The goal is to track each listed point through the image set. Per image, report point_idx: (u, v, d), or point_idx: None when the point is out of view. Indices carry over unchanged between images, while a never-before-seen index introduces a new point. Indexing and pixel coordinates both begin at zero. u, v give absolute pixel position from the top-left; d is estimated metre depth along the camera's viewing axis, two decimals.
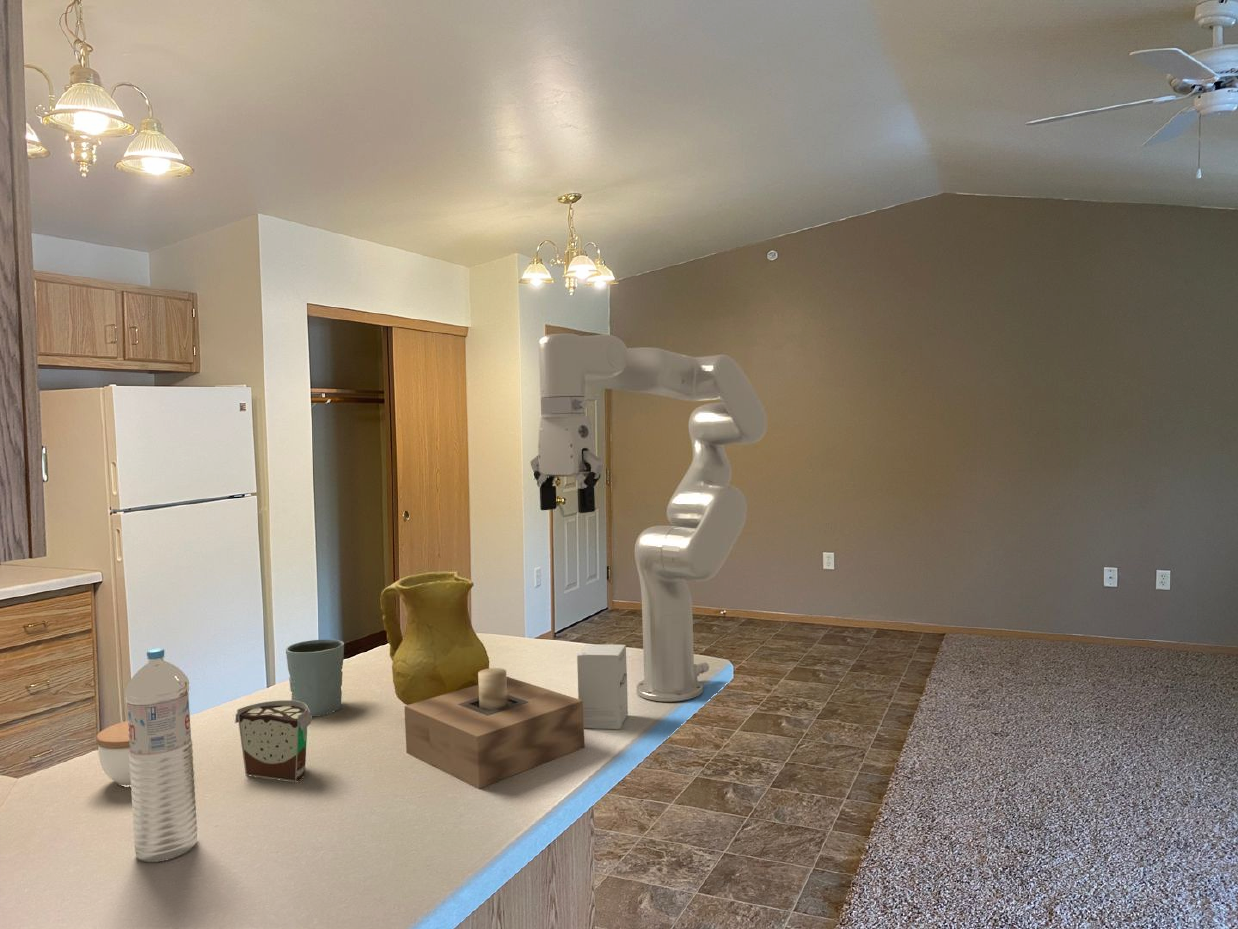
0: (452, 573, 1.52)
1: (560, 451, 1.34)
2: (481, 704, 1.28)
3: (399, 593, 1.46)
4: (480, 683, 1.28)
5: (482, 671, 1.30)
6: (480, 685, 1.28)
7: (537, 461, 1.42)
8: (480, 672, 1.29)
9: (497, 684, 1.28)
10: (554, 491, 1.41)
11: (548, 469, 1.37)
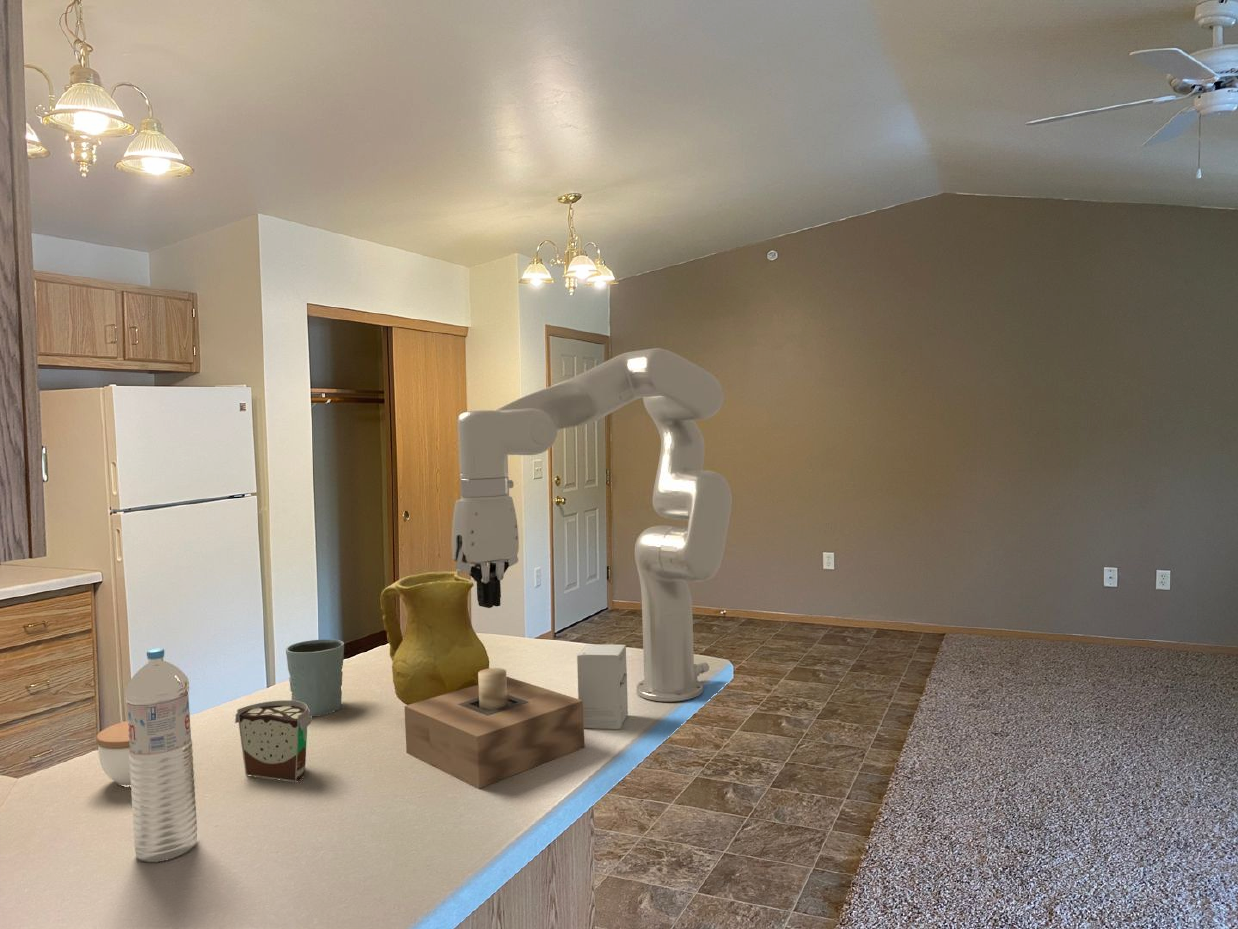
0: (452, 573, 1.52)
1: (504, 533, 1.28)
2: (481, 704, 1.28)
3: (399, 593, 1.46)
4: (480, 683, 1.28)
5: (482, 671, 1.30)
6: (480, 685, 1.28)
7: None
8: (480, 672, 1.29)
9: (497, 684, 1.28)
10: None
11: (485, 556, 1.26)
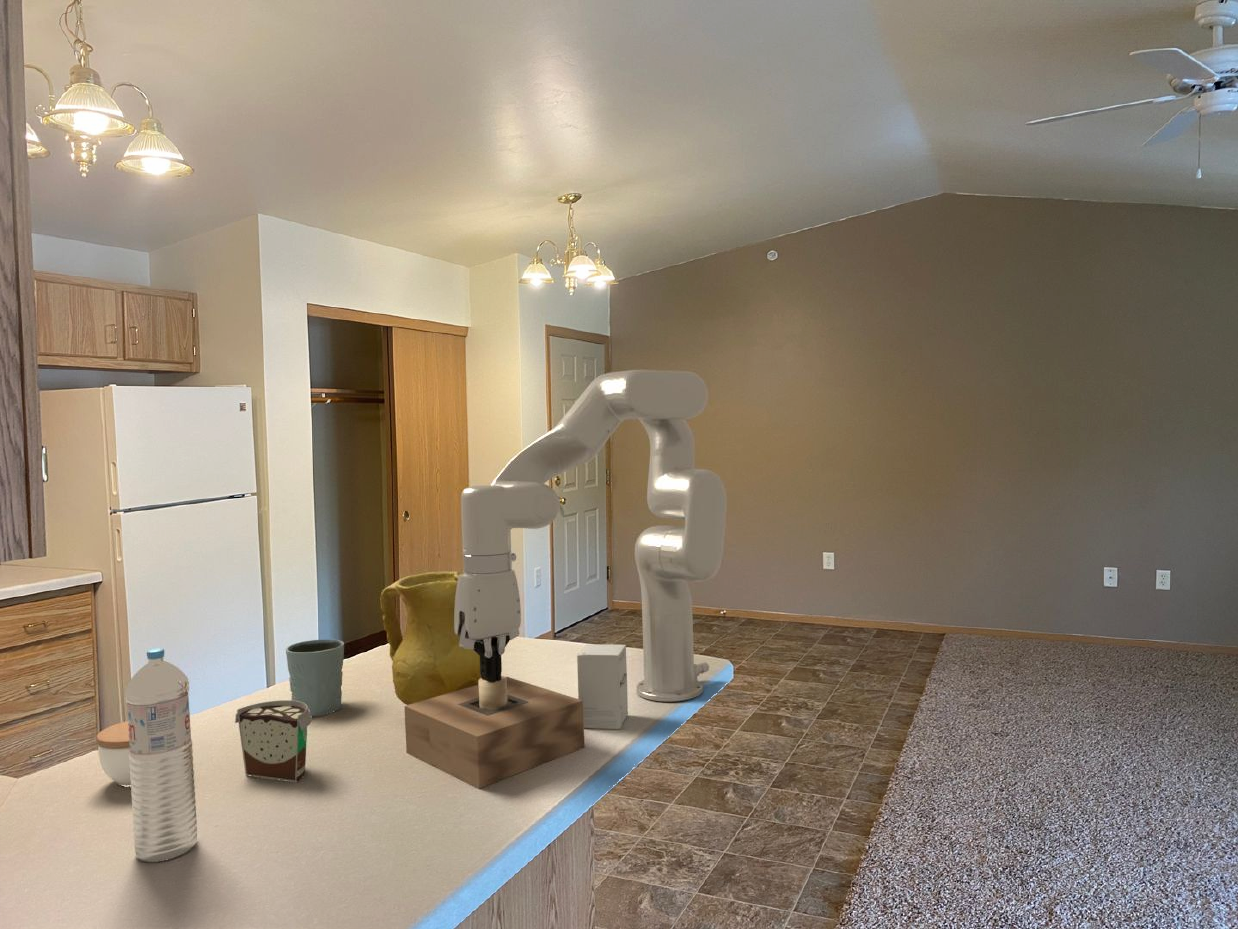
0: (452, 573, 1.52)
1: (506, 608, 1.28)
2: None
3: (399, 593, 1.46)
4: (480, 691, 1.28)
5: None
6: (480, 693, 1.28)
7: None
8: (480, 679, 1.30)
9: (497, 692, 1.28)
10: None
11: (487, 632, 1.26)
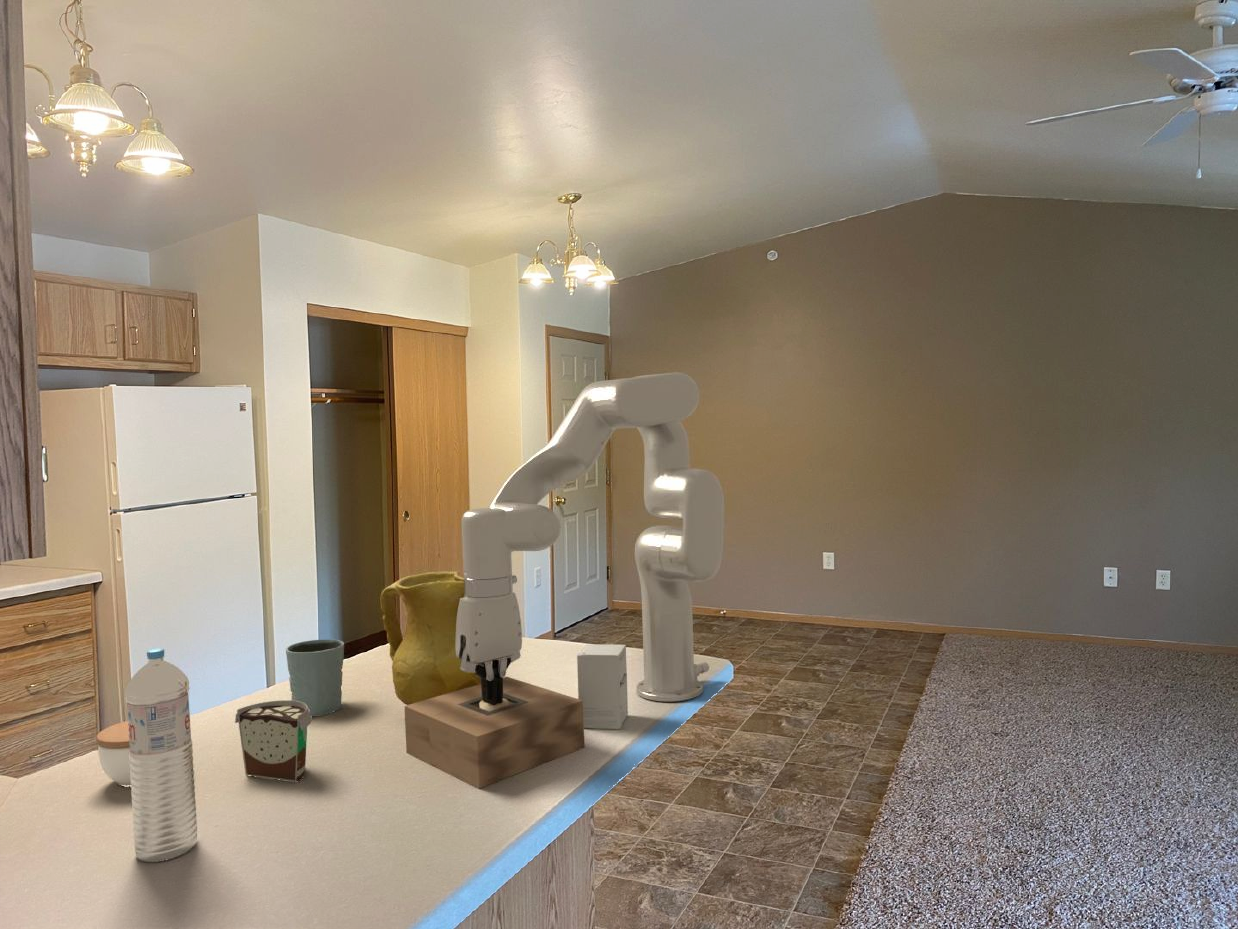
0: (452, 573, 1.52)
1: (508, 631, 1.29)
2: None
3: (399, 593, 1.46)
4: None
5: (483, 701, 1.30)
6: None
7: None
8: (481, 702, 1.30)
9: None
10: None
11: (488, 655, 1.26)
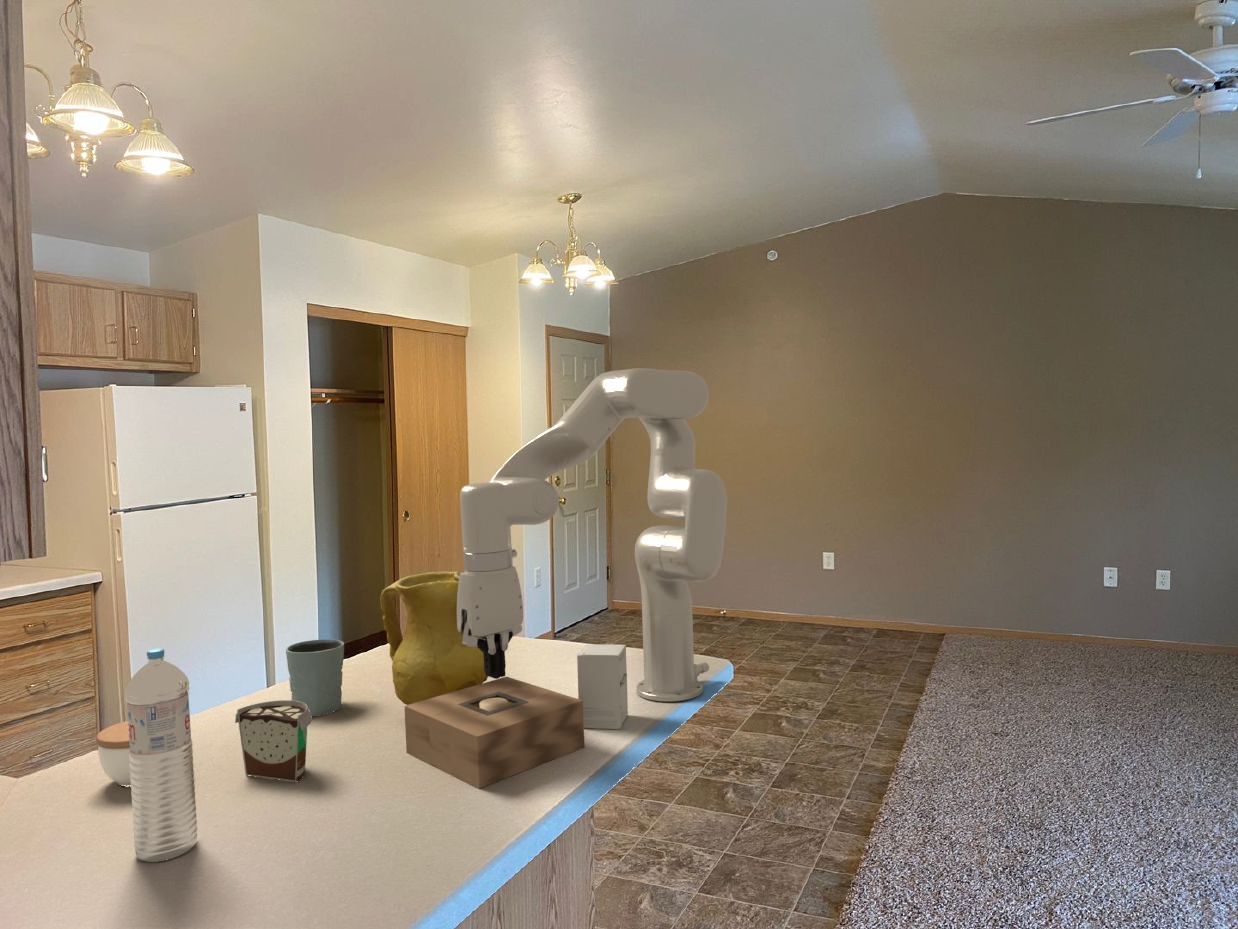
0: (452, 573, 1.52)
1: (509, 605, 1.29)
2: None
3: (399, 593, 1.46)
4: None
5: (483, 701, 1.30)
6: None
7: None
8: (481, 702, 1.30)
9: None
10: None
11: (490, 629, 1.27)
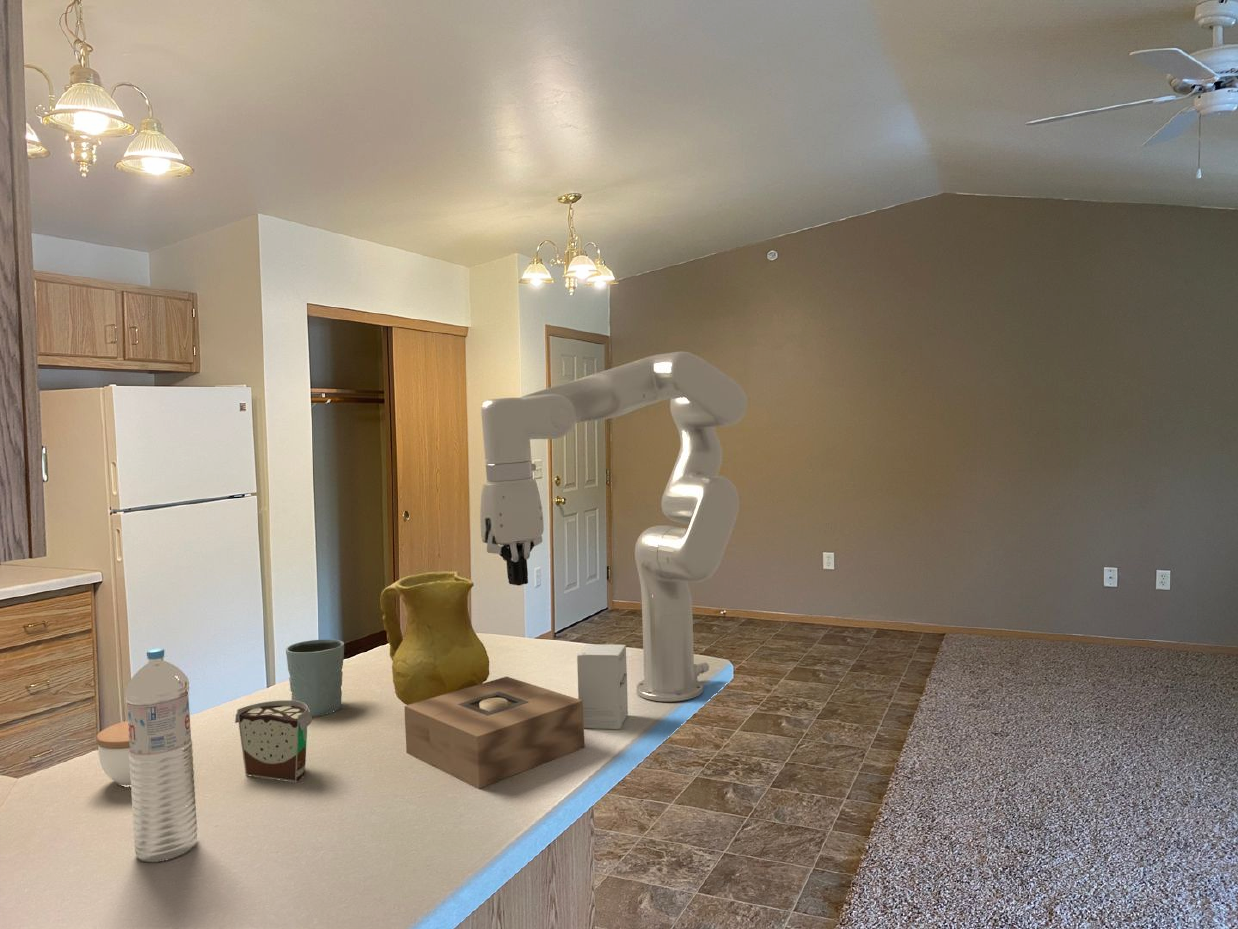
0: (452, 573, 1.52)
1: (530, 514, 1.34)
2: None
3: (399, 593, 1.46)
4: None
5: (483, 701, 1.30)
6: None
7: None
8: (481, 702, 1.30)
9: None
10: None
11: (513, 536, 1.32)
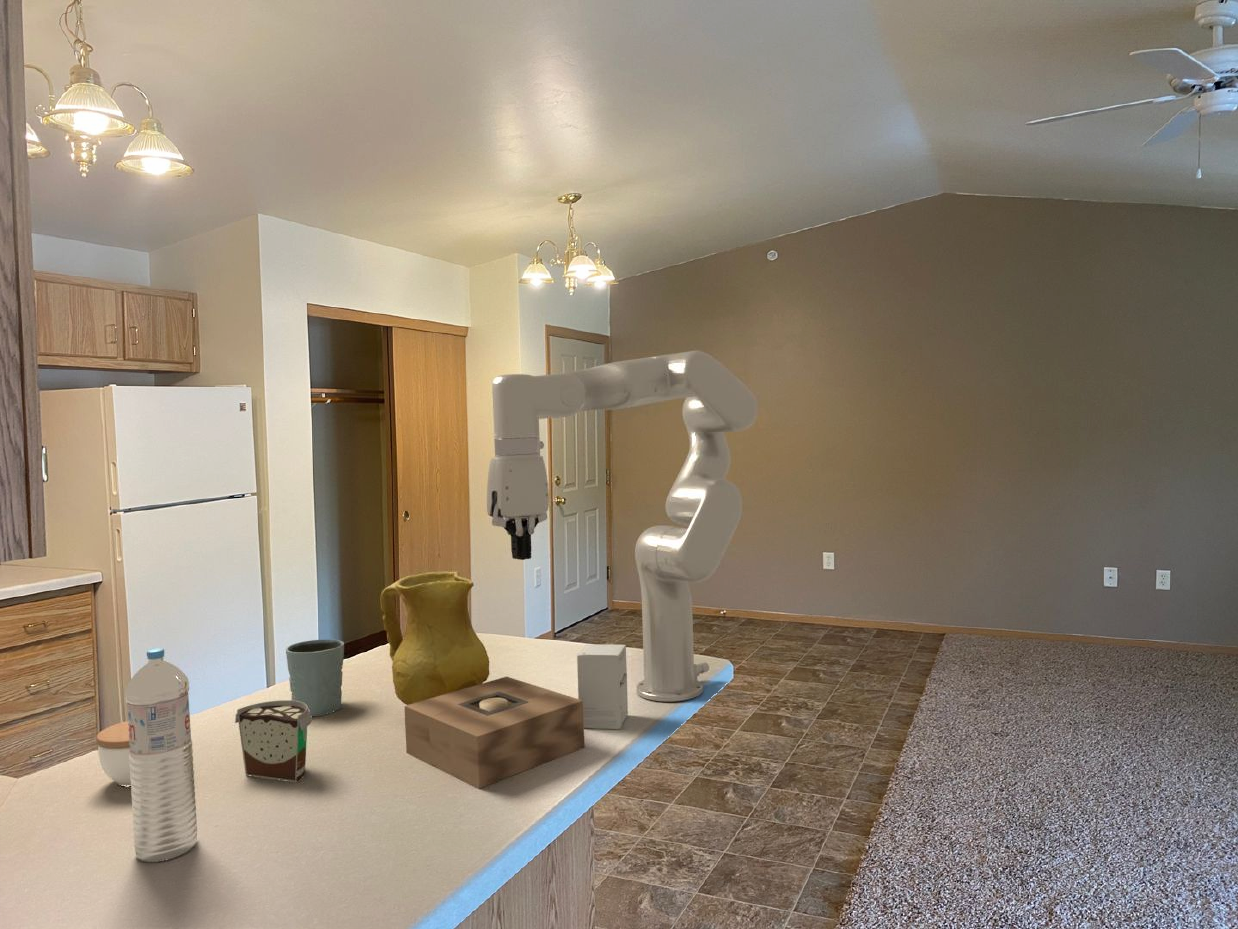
0: (452, 573, 1.52)
1: (536, 490, 1.36)
2: None
3: (399, 593, 1.46)
4: None
5: (483, 701, 1.30)
6: None
7: (502, 514, 1.34)
8: (481, 702, 1.30)
9: None
10: None
11: (518, 510, 1.34)
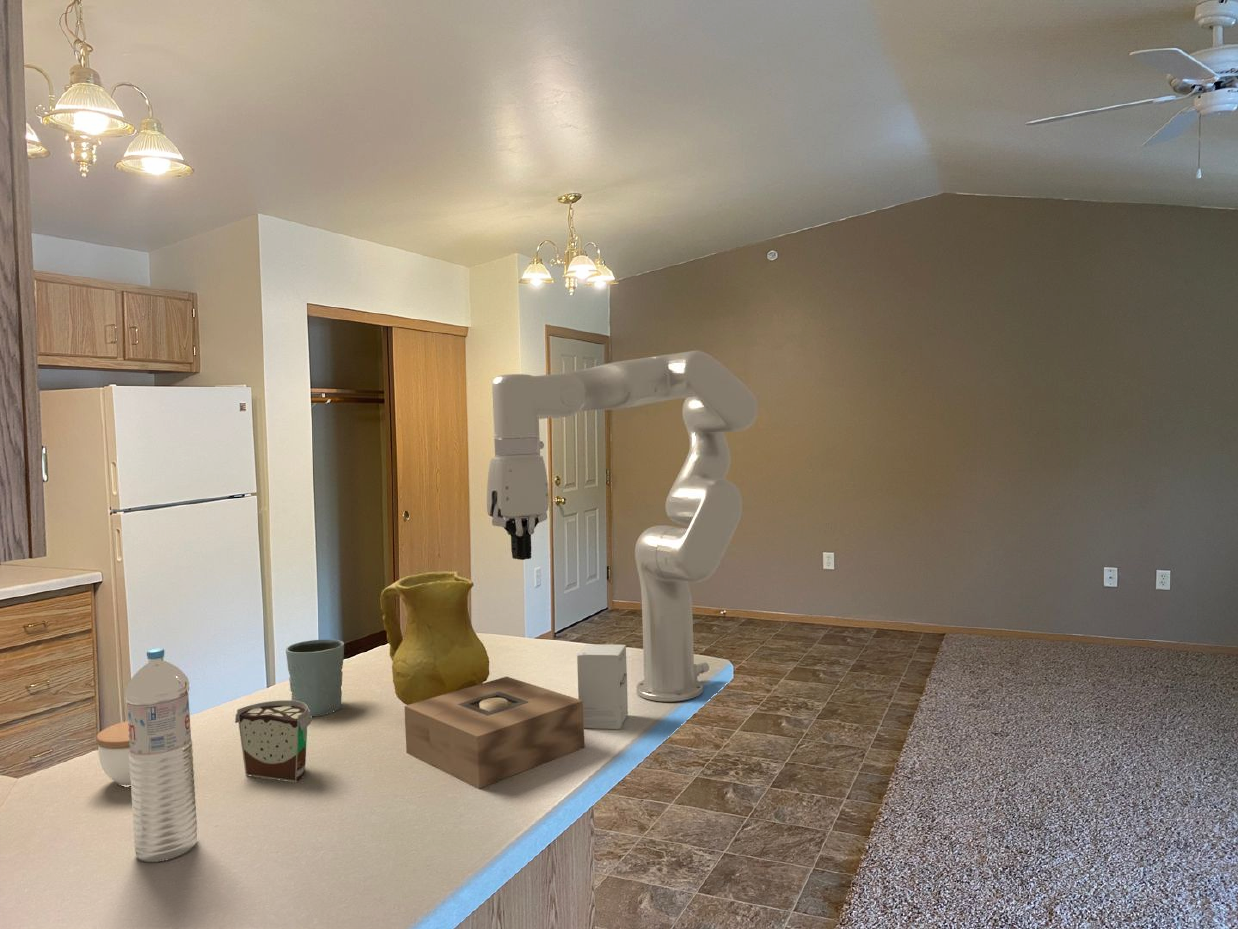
0: (452, 573, 1.52)
1: (536, 490, 1.36)
2: None
3: (399, 593, 1.46)
4: None
5: (483, 701, 1.30)
6: None
7: (502, 514, 1.34)
8: (481, 702, 1.30)
9: None
10: None
11: (518, 510, 1.34)
